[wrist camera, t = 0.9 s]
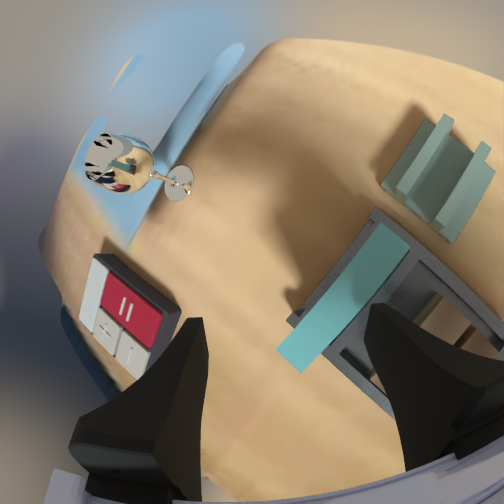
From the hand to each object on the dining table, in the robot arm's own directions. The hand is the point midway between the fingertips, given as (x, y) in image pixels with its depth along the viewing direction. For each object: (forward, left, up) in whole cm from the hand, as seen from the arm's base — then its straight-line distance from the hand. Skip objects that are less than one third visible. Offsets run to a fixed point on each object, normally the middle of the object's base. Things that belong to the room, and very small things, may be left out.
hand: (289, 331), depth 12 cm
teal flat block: (-1, -2, -14) cm, 14 cm away
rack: (-6, -2, -15) cm, 16 cm away
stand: (-1, -14, -15) cm, 20 cm away
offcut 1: (-8, -2, -14) cm, 16 cm away
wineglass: (+22, +2, -15) cm, 27 cm away
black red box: (+18, +20, -15) cm, 31 cm away
